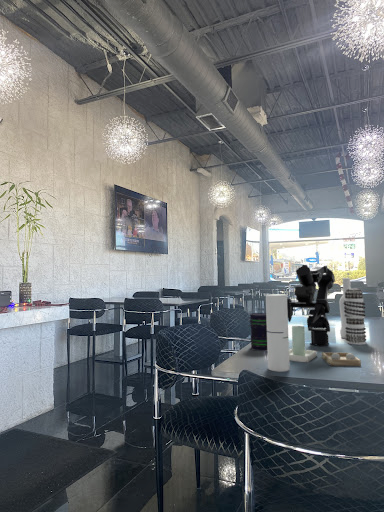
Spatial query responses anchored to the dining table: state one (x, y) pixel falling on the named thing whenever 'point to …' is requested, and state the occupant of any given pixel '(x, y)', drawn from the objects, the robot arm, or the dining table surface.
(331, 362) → the wooden tray
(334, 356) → the white ball
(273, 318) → the cylindrical container
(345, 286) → the bottle
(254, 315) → the storage jar
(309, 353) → the white tray
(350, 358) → the pebble
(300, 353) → the sage green tall cylinder
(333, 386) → the dining table surface
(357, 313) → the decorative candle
